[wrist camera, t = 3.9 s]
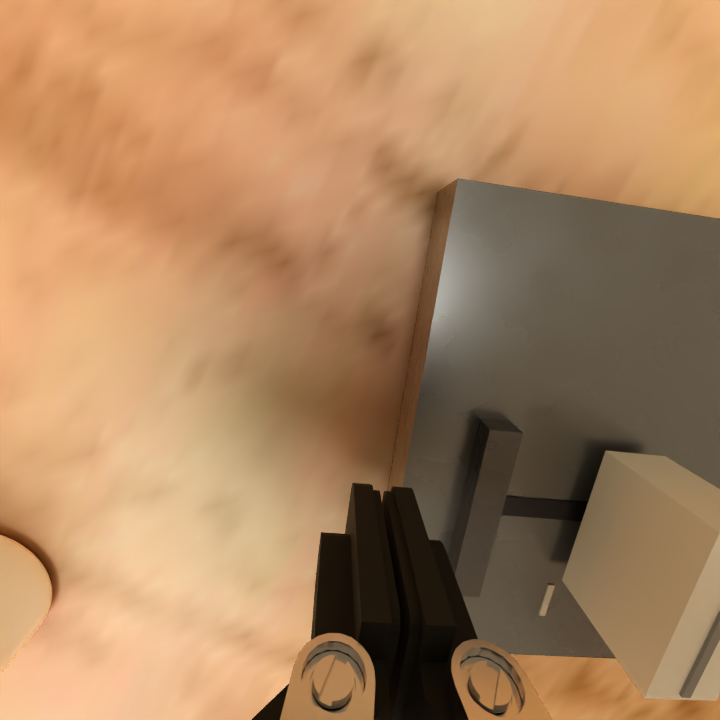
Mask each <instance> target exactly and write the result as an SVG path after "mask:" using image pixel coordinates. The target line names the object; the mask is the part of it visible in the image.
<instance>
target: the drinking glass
mask: <svg viewBox="0 0 720 720" xmlns="http://www.w3.org/2000/svg"><path fill="white" fill-rule="evenodd" d="M51 601H52V585H51V581H50V577H49V575H48V573H47V571H46V569H45V567H44V566H43V564H42V563H41V561H40V560H39V559H38V558H37V557H36V556H35V555H34V554H33V553H32V552H31V551H30V550H28V549H27V548H26V547H24V546H23V545H21V544H20V543H18V542H16V541H14V540H12V539H10V538H8V537H6V536H3V535H0V676H1V674H2V673H3V672H4V670H5V669H6V668H7V667H8V665H9V664H10V663H11V662H12V660H13V659H14V658H15V657H16V656H17V654H18V653H19V652H20V651H21V649H22V648H23V647H24V646H25V645H26V643H27V642H28V641H29V640H30V638H31V637H32V636H33V635H34V634H35V632H36V631H37V630H38V628H39V627H40V626H41V624H42V623H43V621H44V619H45V618H46V616H47V614H48V611H49V609H50V605H51Z"/></svg>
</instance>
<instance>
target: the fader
mask: <svg viewBox="0 0 720 720" xmlns="http://www.w3.org/2000/svg"><path fill="white" fill-rule="evenodd" d="M562 581H563V582H564V584H565V585H566V587H567V588H568V589H569V591H570V592H571V594H572V595H573V597H574V598H575V600H576V601H577V602H578V604H579V605H580V607H581V608H582V610H583V611H584V613H585V614H586V615H587V617H588V618H589V620H590V621H591V623H592V624H593V626H594V627H595V628H596V630H597V631H598V633H599V634H600V636H601V637H602V639H603V640H604V641H605V643H606V644H607V646H608V647H609V649H610V650H611V652H612V653H613V654H614V656H615V657H616V659H617V660H618V662H619V663H620V665H621V666H622V667H623V669H624V670H625V672H626V673H627V675H628V676H629V678H630V679H631V680H632V682H633V683H634V685H635V686H636V688H637V689H638V690H639V692H640V693H641V695H642V696H643V698H644V699H674V700H704V701H717V699H718V697H719V695H720V489H719V488H717V487H716V486H714V485H712V484H711V483H709V482H707V481H706V480H704V479H702V478H701V477H699V476H697V475H696V474H694V473H692V472H691V471H689V470H687V469H686V468H684V467H682V466H681V465H679V464H677V463H676V462H674V461H672V460H671V459H669V458H667V457H666V456H659V455H648V454H637V453H627V452H616V451H605V454H604V456H603V459H602V462H601V465H600V468H599V471H598V474H597V477H596V480H595V483H594V486H593V489H592V492H591V495H590V498H589V501H588V504H587V507H586V510H585V513H584V516H583V519H582V522H581V525H580V528H579V531H578V534H577V537H576V540H575V543H574V546H573V549H572V552H571V555H570V558H569V561H568V564H567V567H566V570H565V573H564V576H563V579H562Z"/></svg>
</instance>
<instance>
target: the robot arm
mask: <svg viewBox="0 0 720 720" xmlns="http://www.w3.org/2000/svg"><path fill="white" fill-rule="evenodd" d="M252 720H552V718H551V716H550V714H549V713H548V711H547V709H546V708H545V706H544V704H543V702H542V701H541V699H540V697H539V695H538V694H537V692H536V690H535V688H534V687H533V685H532V683H531V681H530V680H529V678H528V676H527V675H526V673H525V672H524V670H523V669H522V668H521V666H520V665H519V663H518V662H517V661H516V660H515V659H514V658H513V657H512V656H511V655H510V654H509V653H508V652H507V651H505V650H504V649H502V648H500V647H499V646H497V645H496V644H494V643H491V642H488V641H485V640H478V638H477V635H476V632H475V629H474V627H473V624H472V621H471V618H470V616H469V613H468V610H467V607H466V605H465V602H464V599H463V596H462V594H461V591H460V588H459V585H458V583H457V580H456V577H455V574H454V572H453V569H452V566H451V563H450V561H449V558H448V555H447V553H446V550H445V547H444V545H443V543H442V542H441V541H440V540H429V538H428V535H427V532H426V529H425V526H424V522H423V519H422V516H421V513H420V510H419V507H418V504H417V500H416V497H415V494H414V491H413V489H412V488H408V487H396V486H392V488H391V491H385V492H384V495H383V501H382V502H381V496H380V491H377V490H373V486H372V485H370V484H358V483H353V484H352V488H351V495H350V502H349V509H348V517H347V524H346V531H345V534H338V533H323V532H321V537H320V545H319V554H318V563H317V573H316V583H315V595H314V608H313V621H312V635H311V641H309V642H308V643H307V644H306V645H305V646H304V647H303V649H302V650H301V651H300V652H299V654H298V657H297V659H296V661H295V664H294V666H293V670H292V674H291V678H290V682H289V684H288V685H287V686H286V687H285V688H284V689H283V690H282V691H281V692H280V693H279V694H278V695H277V696H276V697H275V698H274V699H272V700H271V701H270V702H269V703H268V704H267V705H266V706H265V707H264V708H263V709H262V710H261V711H260V712H259V713H258V714H257V715H256V716H255V717H254V718H253V719H252Z"/></svg>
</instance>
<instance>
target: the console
mask: <svg viewBox="0 0 720 720" xmlns="http://www.w3.org/2000/svg"><path fill="white" fill-rule="evenodd" d="M605 451H616V452H627V453H637V454H648V455H659V456H666V457H667V458H669V459H671V460H672V461H674V462H676V463H677V464H679V465H681V466H682V467H684V468H686V469H687V470H689V471H691V472H692V473H694V474H696V475H697V476H699V477H701V478H702V479H704V480H706V481H707V482H709V483H711V484H712V485H714V486H716V487H717V488H719V489H720V219H717V218H711V217H704V216H698V215H691V214H685V213H678V212H672V211H665V210H659V209H652V208H646V207H639V206H633V205H626V204H620V203H614V202H607V201H601V200H594V199H588V198H581V197H575V196H568V195H562V194H555V193H549V192H542V191H536V190H529V189H523V188H516V187H510V186H503V185H497V184H491V183H484V182H478V181H471V180H465V179H457V180H455V181H454V182H452V183H451V184H449V185H448V186H447V187H445V188H444V189H442V190H441V191H439V192H438V194H437V200H436V206H435V212H434V218H433V224H432V230H431V236H430V242H429V248H428V254H427V260H426V266H425V272H424V278H423V284H422V290H421V296H420V301H419V307H418V313H417V319H416V325H415V331H414V337H413V343H412V349H411V355H410V361H409V367H408V373H407V379H406V385H405V391H404V397H403V403H402V408H401V414H400V420H399V426H398V432H397V438H396V444H395V450H394V456H393V462H392V468H391V474H390V480H389V486H388V491H391V488H392V486H396V487H408V488H412V489H413V491H414V494H415V497H416V500H417V504H418V507H419V510H420V513H421V516H422V519H423V522H424V526H425V529H426V532H427V535H428V538H429V540H440V541H441V542H442V543H443V545H444V547H445V550H446V553H447V555H448V558H449V561H450V563H451V566H452V569H453V572H454V574H455V577H456V580H457V583H458V585H459V588H460V591H461V594H462V596H463V599H464V602H465V605H466V607H467V610H468V613H469V616H470V618H471V621H472V624H473V627H474V629H475V632H476V635H477V638H478V640H485V641H488V642H491V643H494V644H496V645H497V646H499V647H500V648H502V649H504V650H505V651H507V652H508V653H509V654H522V655H546V656H569V657H592V658H616V657H615V656H614V654H613V653H612V652H611V650H610V649H609V647H608V646H607V644H606V643H605V641H604V640H603V639H602V637H601V636H600V634H599V633H598V631H597V630H596V628H595V627H594V626H593V624H592V623H591V621H590V620H589V618H588V617H587V615H586V614H585V613H584V611H583V610H582V608H581V607H580V605H579V604H578V602H577V601H576V600H575V598H574V597H573V595H572V594H571V592H570V591H569V589H568V588H567V587H566V585H565V584H564V582H563V581H562V579H563V576H564V573H565V570H566V567H567V564H568V561H569V558H570V555H571V552H572V549H573V546H574V543H575V540H576V537H577V534H578V531H579V528H580V525H581V522H582V519H583V516H584V513H585V510H586V507H587V504H588V501H589V498H590V495H591V492H592V489H593V486H594V483H595V480H596V477H597V474H598V471H599V468H600V465H601V462H602V459H603V456H604V454H605Z"/></svg>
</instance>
